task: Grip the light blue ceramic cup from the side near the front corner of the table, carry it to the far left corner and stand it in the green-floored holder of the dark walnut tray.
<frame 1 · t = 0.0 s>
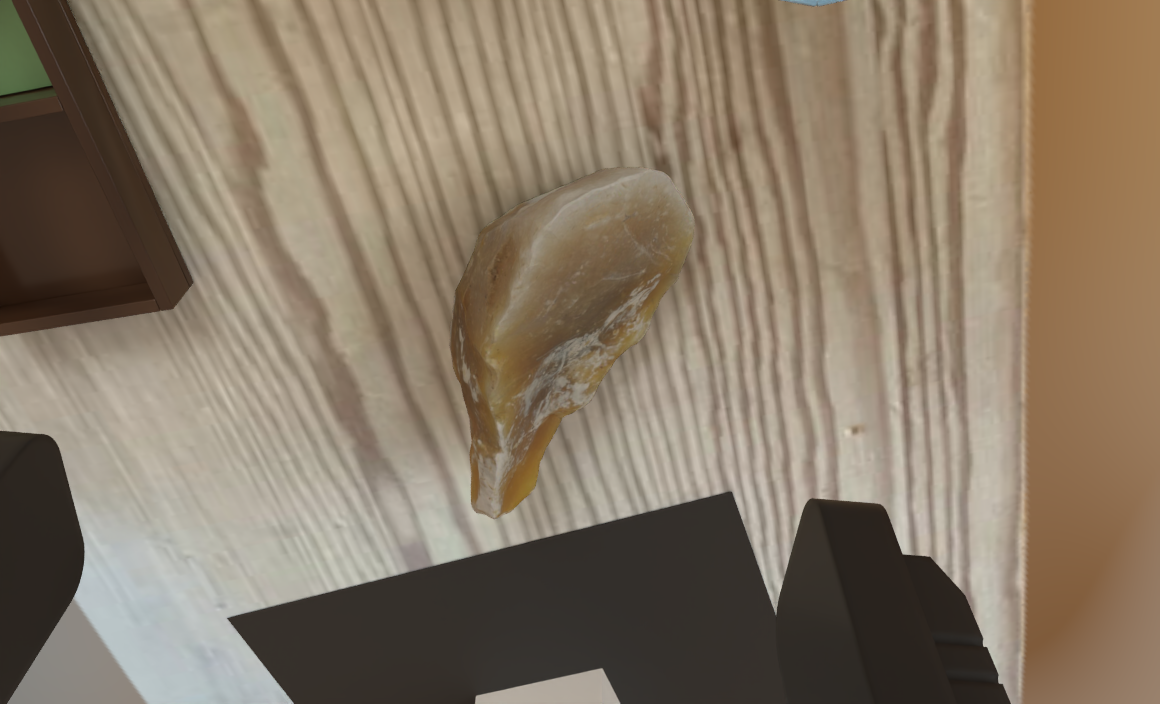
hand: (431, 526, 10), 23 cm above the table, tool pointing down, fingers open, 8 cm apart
stone: (552, 309, 36), on the table
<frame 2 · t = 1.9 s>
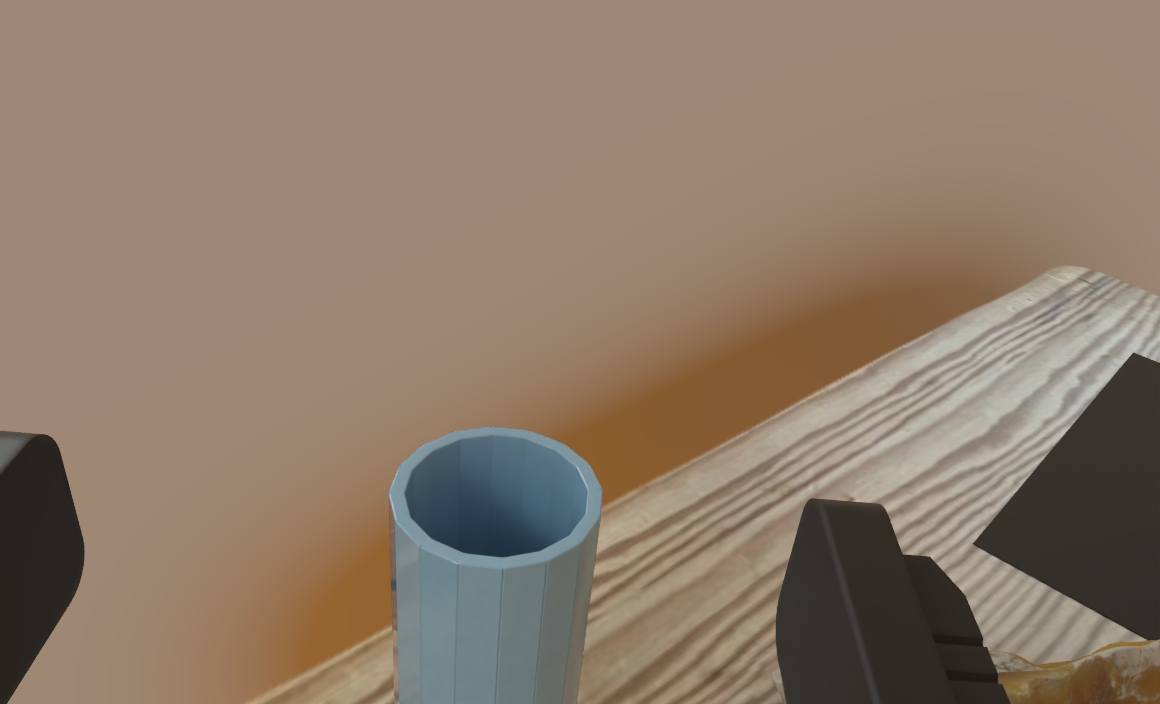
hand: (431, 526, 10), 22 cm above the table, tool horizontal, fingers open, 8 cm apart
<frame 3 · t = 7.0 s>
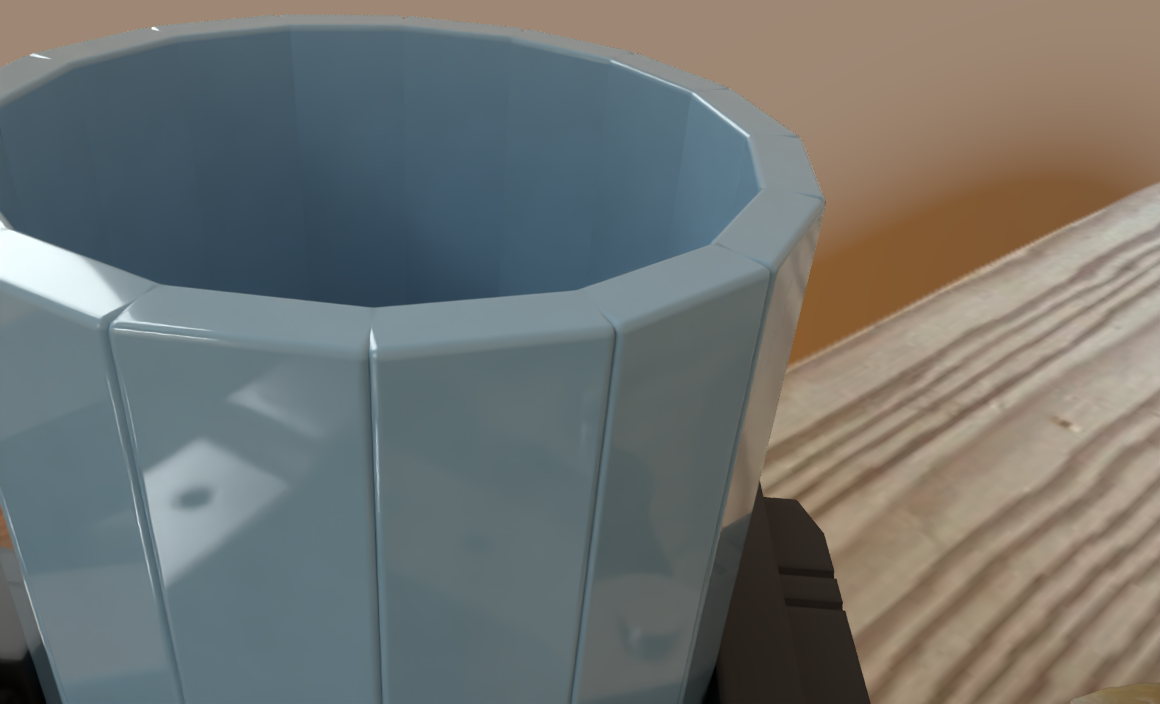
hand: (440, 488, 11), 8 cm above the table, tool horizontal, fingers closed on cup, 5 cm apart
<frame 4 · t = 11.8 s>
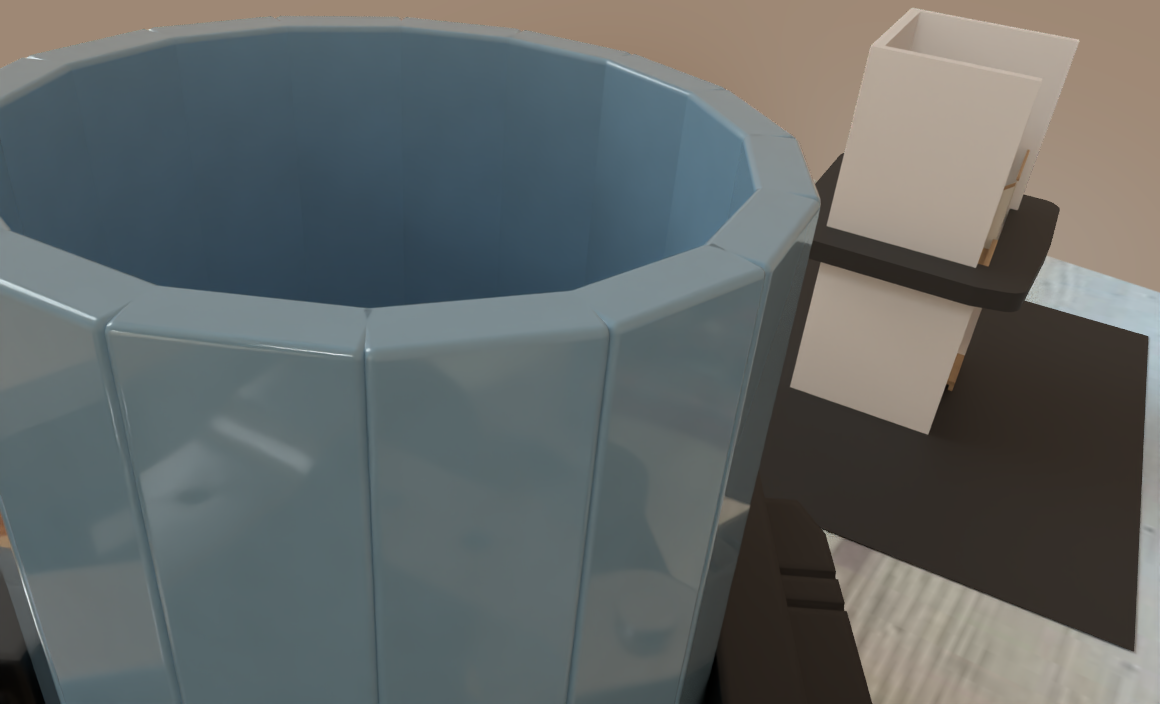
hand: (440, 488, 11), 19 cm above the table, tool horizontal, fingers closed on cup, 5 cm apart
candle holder: (877, 376, 48), on the table
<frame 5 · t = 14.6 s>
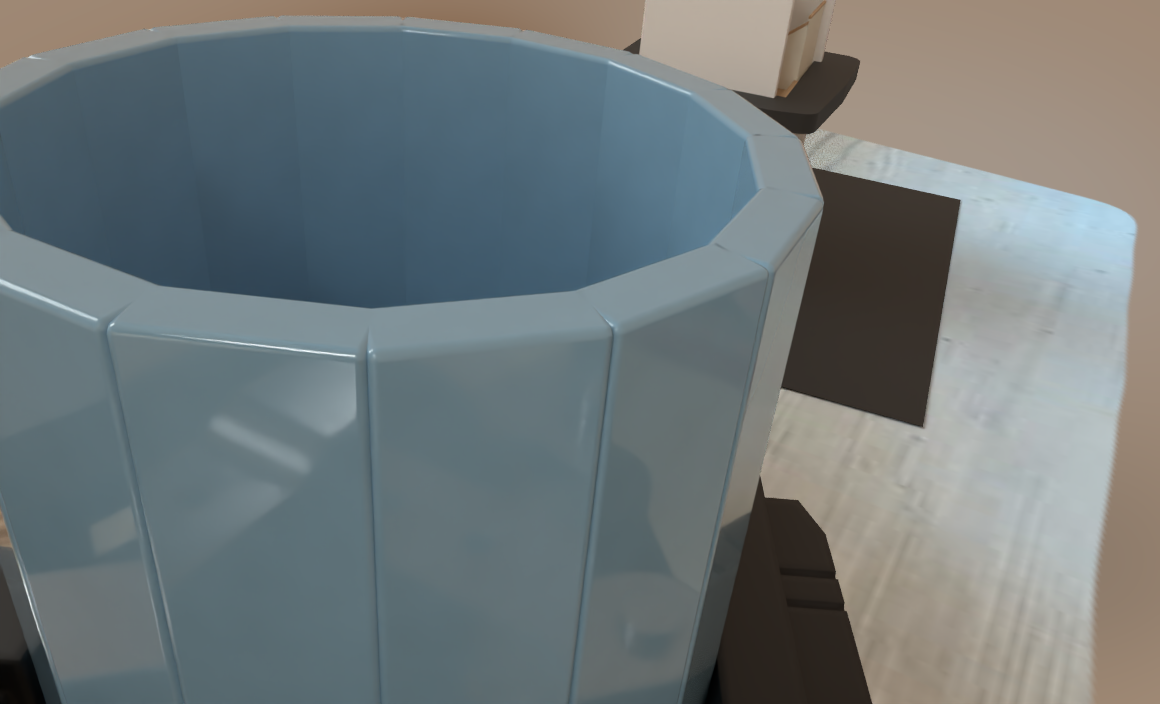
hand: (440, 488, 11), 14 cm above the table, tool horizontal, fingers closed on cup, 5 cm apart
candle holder: (705, 234, 50), on the table
when the fingers open (8 cm above the table, at t = 16.6 s): cup stays where it is, resting on tray.
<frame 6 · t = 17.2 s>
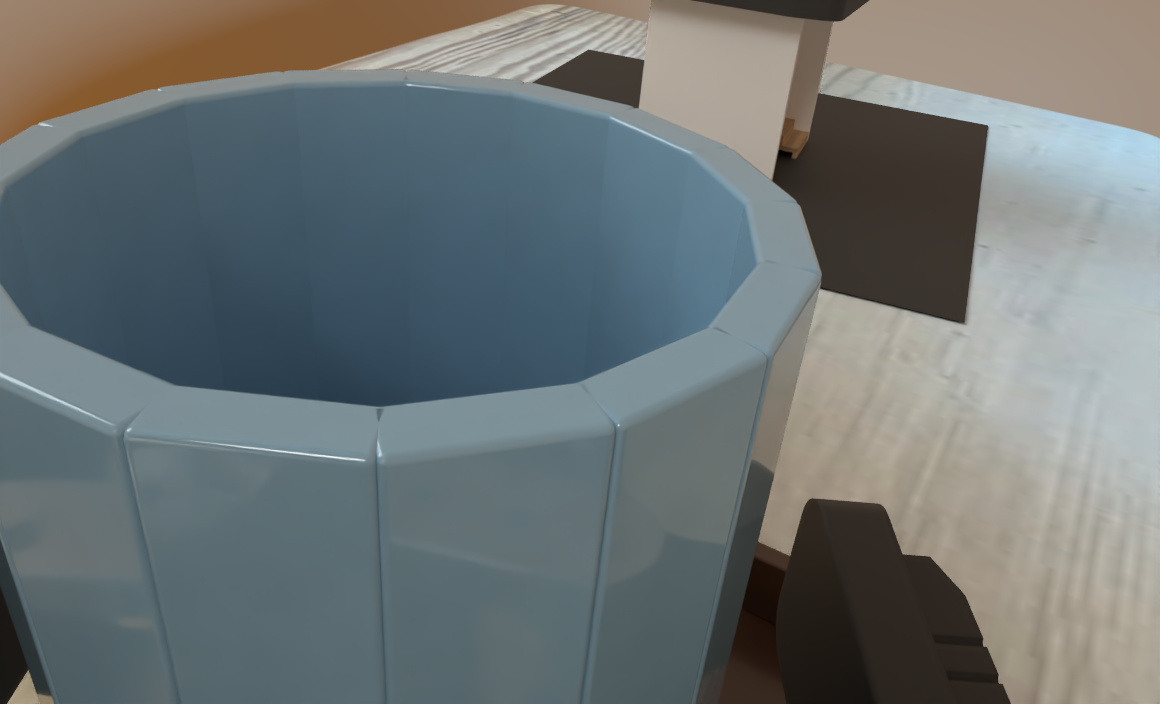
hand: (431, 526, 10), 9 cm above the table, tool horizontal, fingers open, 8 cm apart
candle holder: (722, 151, 47), on the table
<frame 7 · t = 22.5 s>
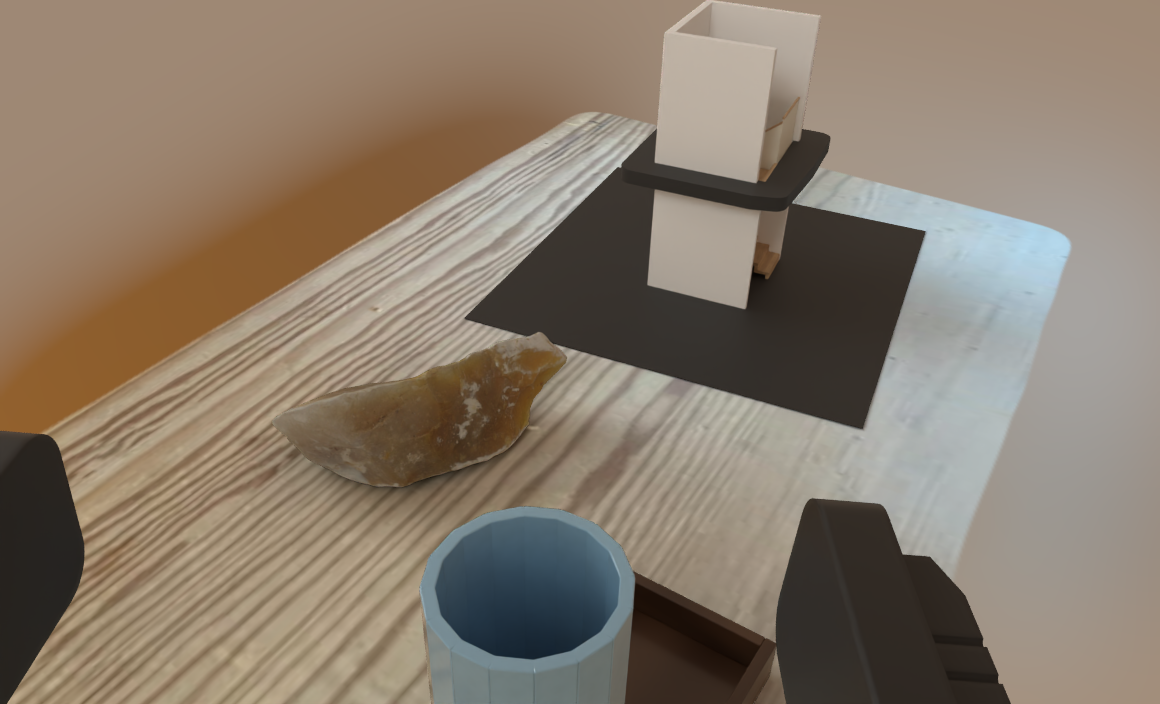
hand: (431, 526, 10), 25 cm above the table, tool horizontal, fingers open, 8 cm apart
stone: (431, 440, 50), on the table
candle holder: (714, 273, 64), on the table
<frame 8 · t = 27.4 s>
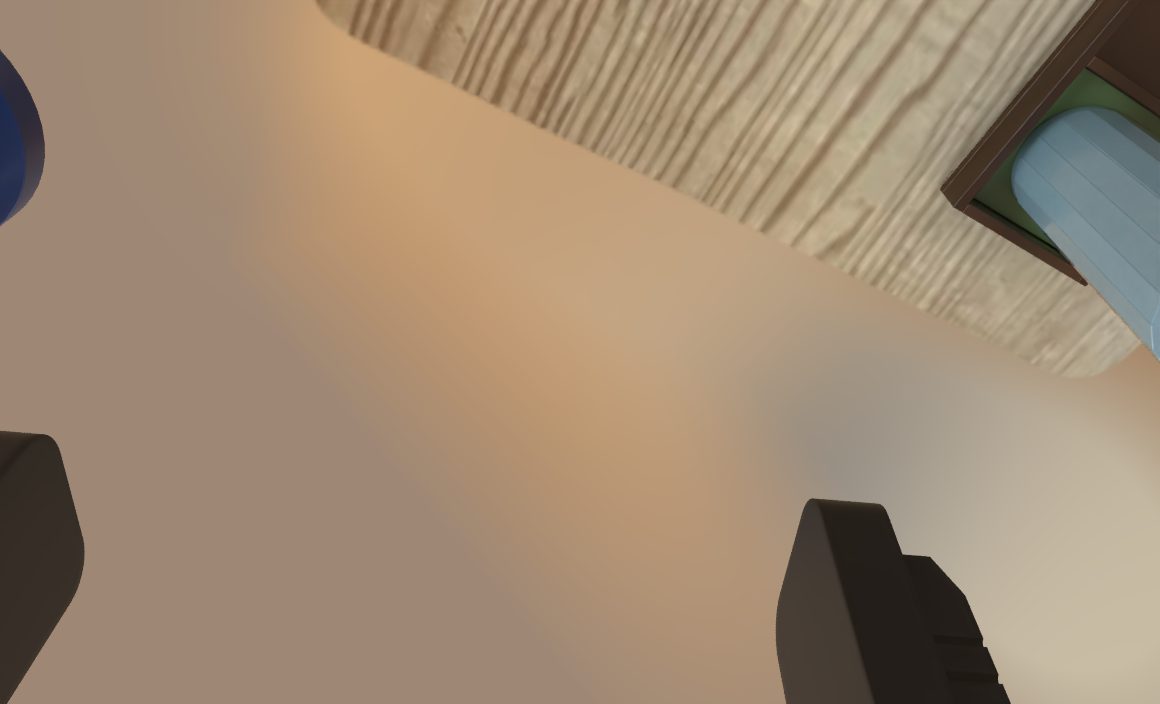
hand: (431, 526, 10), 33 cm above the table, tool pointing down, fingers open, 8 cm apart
tray: (1130, 88, 41), on the table
cup: (1074, 165, 42), point 1 cm above the table, touching tray
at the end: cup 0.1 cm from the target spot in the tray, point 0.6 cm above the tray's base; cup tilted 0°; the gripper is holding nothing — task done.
